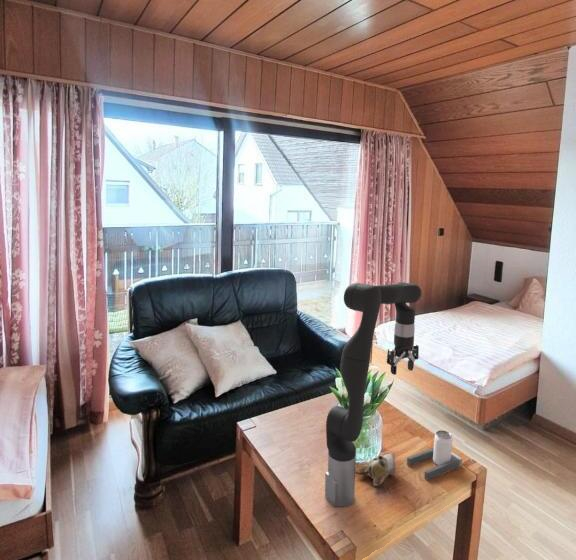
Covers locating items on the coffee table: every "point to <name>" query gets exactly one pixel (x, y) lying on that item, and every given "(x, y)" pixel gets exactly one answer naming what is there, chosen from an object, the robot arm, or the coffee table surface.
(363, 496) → the coffee table surface
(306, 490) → the coffee table surface
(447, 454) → the can
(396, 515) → the coffee table surface
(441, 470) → the frame
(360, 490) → the coffee table surface
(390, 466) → the ceramic sculpture
